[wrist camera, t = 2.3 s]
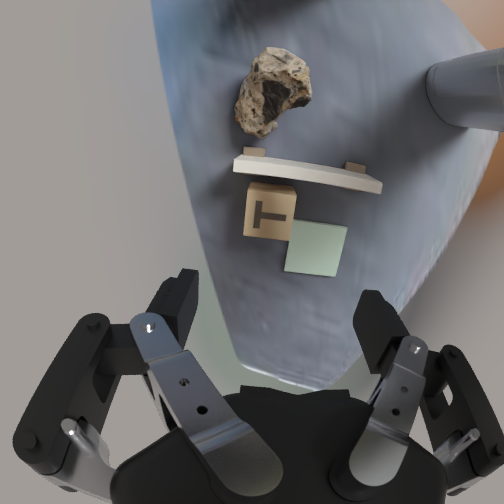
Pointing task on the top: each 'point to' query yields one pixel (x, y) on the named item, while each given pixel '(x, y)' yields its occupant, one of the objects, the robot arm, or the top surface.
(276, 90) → the rock
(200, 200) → the top surface
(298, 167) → the screen
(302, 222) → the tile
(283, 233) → the letter cube
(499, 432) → the robot arm
